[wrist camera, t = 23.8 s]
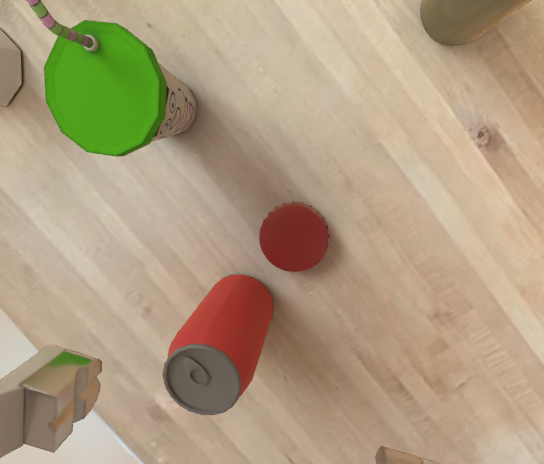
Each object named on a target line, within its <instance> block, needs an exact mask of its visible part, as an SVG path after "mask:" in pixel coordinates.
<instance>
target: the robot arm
mask: <svg viewBox="0 0 544 464" xmlns="http://www.w3.org/2000/svg"><path fill="white" fill-rule="evenodd" d="M101 371H102V361H100V360H99V359H97V358H94V357H91V356H88V355H85V354H82V353H79V352H76V351H73V350H70V349H66V348H63V347H60V346H57V345H54V344H53V345H49V346H47V347H45V348H44V349H42V350H41V351H40V352H38V353H37V354H36V355H34V356H33V357H31V358H30V359H29V360H27V361H26V362H24V363H23V364H22V365H20V366H19V367H17V368H16V369H15V370H13V371H12V372H11V373H9V374H8V375H6V376H5V377H4V378H2V379H1V380H0V458H1V457H3V456H4V455H6V454H8V453H10V452H12V451H14V450H16V449H18V448H19V447H21V446H23V444H27V445H30V446H33V447H37V448H40V449H43V450H47V451H50V452H53V453H54V452H55V451H56V450H57V449H58V447H59V446H60V445H61V444H62V443H63V442H64V441H65V440H66V438H67V437H68V436H69V435H70V434H71V433H72V431H73V423H75V422H77V421H79V420H81V419H84V418H85V417H86V416H87V414H88V413H89V412H90V411H91V409H92V408H93V406H94V404H95V402H96V400H97V398H98V395H99V392H100V382H99V380H98V379H97V376H98V375H99V373H100V372H101ZM375 457H376V463H377V464H439V463H438V462H435V461H431V460H428V459H425V458H421V457H417V456H414V455H410V454H407V453H404V452H400V451H397V450H394V449H390V448H387V447H383V446H381V447H380V448H379V449H378V452H377V454H376V456H375Z"/></svg>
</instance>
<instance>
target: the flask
mask: <svg viewBox="0 0 544 464" xmlns="http://www.w3.org/2000/svg"><path fill="white" fill-rule="evenodd" d="M21 84H22V80H21V50H20V49H19V48H18V47H17V46H16V45H15V44H14V43H13V42H12V41H11V40H10V39H9V38H8V37H7V36H6V35H5V34H4V33H3V32H2V30H1V29H0V105H2V106H7V105H8V103H9V102H10V100H11V99H12V97H13V96H14V94H15V93H16V91H17V90H18V88H19V87H20V85H21Z"/></svg>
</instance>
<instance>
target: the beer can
mask: <svg viewBox="0 0 544 464" xmlns="http://www.w3.org/2000/svg"><path fill="white" fill-rule="evenodd" d="M272 314H273V300H272V298H271V296H270V293H269V291H268V290H267V289H266V288H265V287H264V285H263V284H262V283H261V282H259V281H257V280H256V279H254V278H253V277H249V276H245V275H231V276H228V277H225V278H223V279H221V280H220V281H219V282H218V283H216V284H215V285H214V287H213V288H212V289H211V291H210V292H209V293H208V294H207V296H206V297H205V298H204V300H203V301H202V302H201V303H200V305H199V306H198V307H197V309H196V310H195V311H194V312H193V314H192V315H191V316H190V318H189V319H188V320H187V321H186V323H185V324H184V325H183V327H182V328H181V329H180V330H179V332H178V333H177V335H176V336H175V338H174V340H173V341H172V343H171V346H170V348H169V353H168V359H167V361H166V362H165V364H164V369H163V379H164V384H165V387H166V389H167V391H168V392H169V394H170V396H171V397H172V398H173V399H174V400H175V401H176V402H177V403H178V404H179V405H180V406H182V407H183V408H185V409H187V410H188V411H191V412H194V413H197V414H200V415H216V414H220V413H224V412H225V411H227V410H228V409H230V408H231V407H233V405H234V404H235V403H236V401H237V400H238V398H239V397H240V396H241V395H242V394H243V392H244V391H245V389H246V388H247V387H248V385H249V384H250V382H251V381H252V379H253V376H254V372H255V369H256V366H257V363H258V360H259V356H260V353H261V350H262V347H263V344H264V340H265V337H266V334H267V331H268V328H269V324H270V321H271V318H272Z"/></svg>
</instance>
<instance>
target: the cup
mask: <svg viewBox="0 0 544 464" xmlns="http://www.w3.org/2000/svg"><path fill="white" fill-rule="evenodd" d="M26 1H27V2H28V3H29V5H30V6H31V8H32V9H33V10H34V12H35V13H36V14H37V16H38V17H39V18H40V20H41V21H42V22H43V24H44V25H45V26H46V27H47V28H48V29H49V30H50V31H52V32H53V33H54V34H56V35H58V38H57V40H56V42H55V44H54V46H53V48H52V51H51V53H50V55H49V57H48V59H47V62H46V64H45V66H44V72H45V93H46V102H47V104H48V106H49V108H50V110H51V112H52V114H53V116H54V118H55V120H56V122H57V124H58V126H59V128H60V130H61V132H62V133H63V134H65V135H66V136H67V137H68V138H70V139H71V140H72V141H74V142H75V143H76V144H77V145H79V146H80V147H81V148H83V149H84V150H85V151H86V152H90V153H97V154H104V155H111V156H125V155H127V154H129V153H131V152H133V151H135V150H137V149H140V148H142V147H144V146H146V145H148V144H150V142H152V141H155V140H159V139H162V138H166V137H169V136H173V135H176V134H179V133H181V132H183V131H185V130H188V129H189V128H190V127H191V125H192V124H193V122H194V120H195V119H196V113H197V102H196V100H195V98H194V95H193V93H192V91H191V90H190V89H189V88H188V87H187V86H185V85H184V84H183V83H182V82H181V81H179V80H178V79H177V78H176V77H175V76H173V75H172V74H171V73H170V72H169V71H167V70H166V69H165V68H164V67H162V66H161V65H160V64H159V63H158V62H157V59H156V57H155V55H154V52H153V50H152V49H151V48H149V47H148V46H147V45H146V44H144V43H143V42H142V41H141V40H139V39H138V38H137V37H136V36H134V35H133V34H132V33H131V32H129V31H128V30H127V29H125V28H124V27H122V26H120V25H118V24H116V23H107V22H97V21H88V20H84V21H82V22H81V23H79V24H78V25H76V26H74V27H73V28H71V29H70V28H67V27H65V26H63V25H61V24H59V23H58V22H56V21H55V20H54V19H53V17H52V16H51V15H50V13H49V12H48V10H47V9H46V7H45V6H44V5H43V3H42V2H41V0H26Z"/></svg>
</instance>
